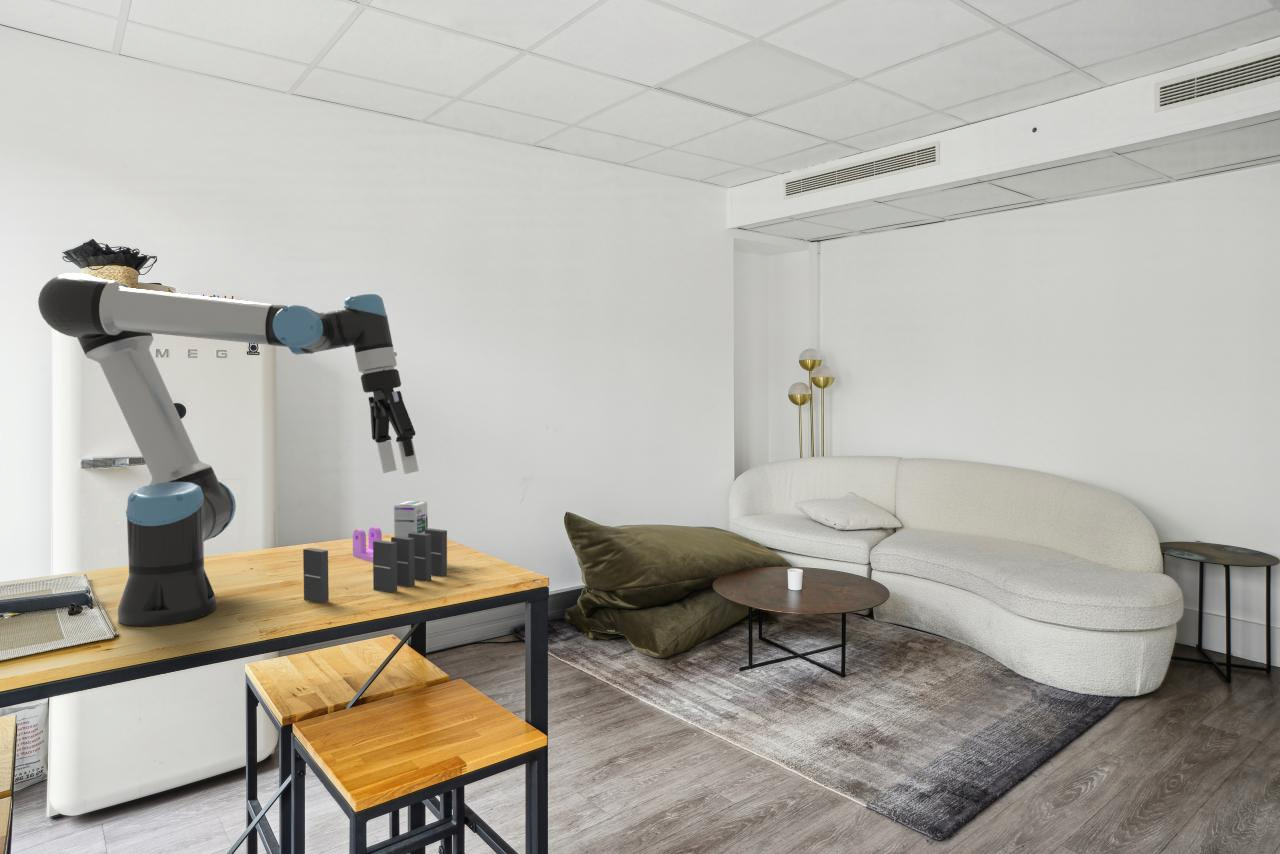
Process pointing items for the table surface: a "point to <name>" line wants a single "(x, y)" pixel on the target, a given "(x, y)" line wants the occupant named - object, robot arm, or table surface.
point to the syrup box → (410, 518)
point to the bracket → (360, 543)
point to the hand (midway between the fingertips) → (400, 472)
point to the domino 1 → (315, 575)
